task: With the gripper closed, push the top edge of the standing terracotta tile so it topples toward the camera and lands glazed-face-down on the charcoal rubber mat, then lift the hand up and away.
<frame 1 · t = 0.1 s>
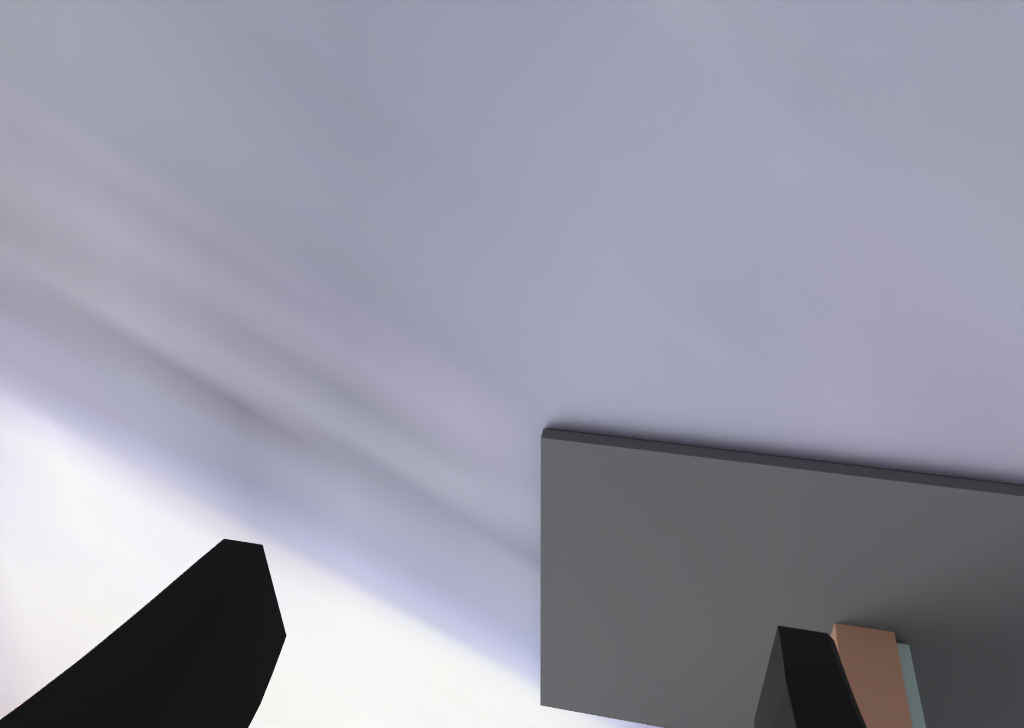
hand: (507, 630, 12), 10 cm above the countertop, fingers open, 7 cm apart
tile: (849, 692, 25), resting on mat
mat: (829, 623, 25), on the countertop
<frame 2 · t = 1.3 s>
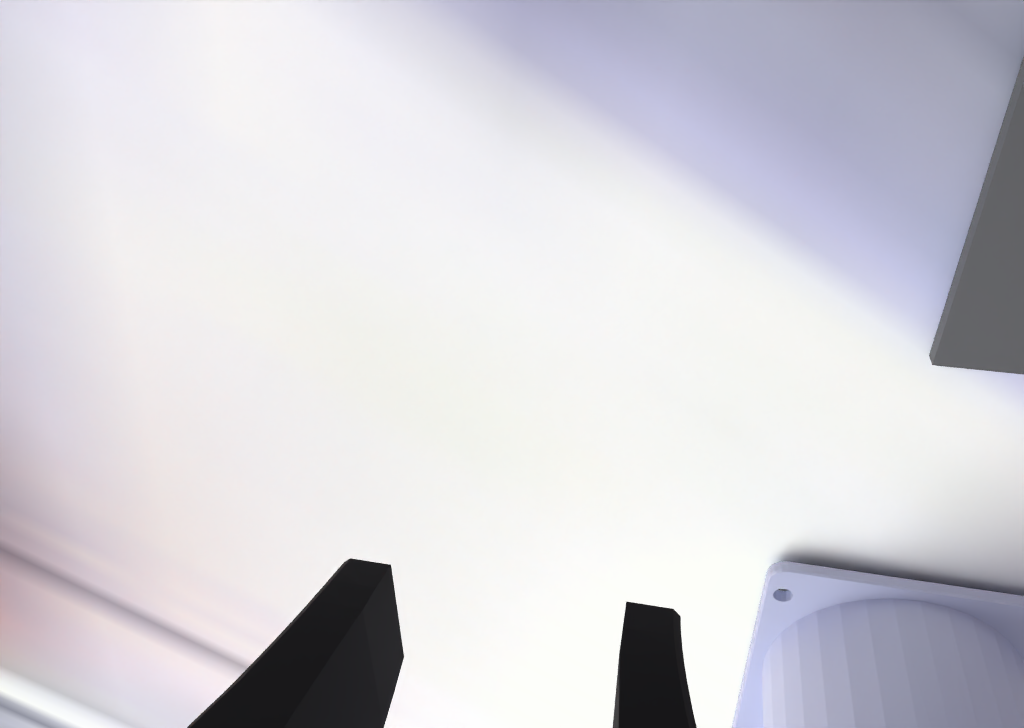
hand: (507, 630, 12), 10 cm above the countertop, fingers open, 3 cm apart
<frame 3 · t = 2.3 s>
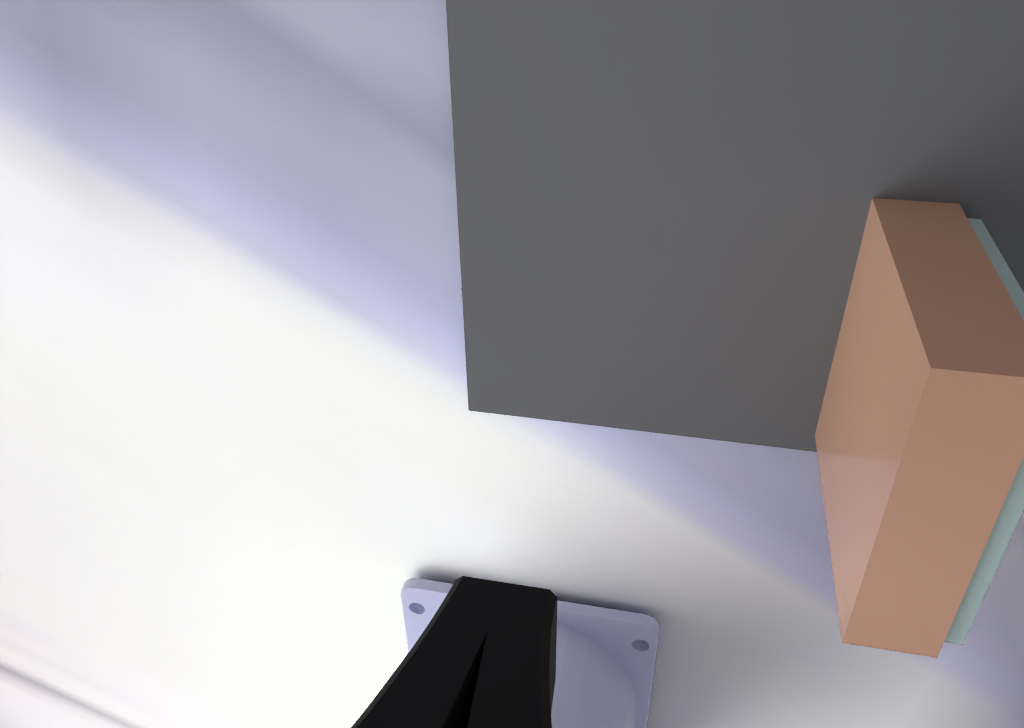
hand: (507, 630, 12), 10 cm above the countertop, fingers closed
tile: (889, 332, 18), resting on mat
mat: (863, 213, 17), on the countertop
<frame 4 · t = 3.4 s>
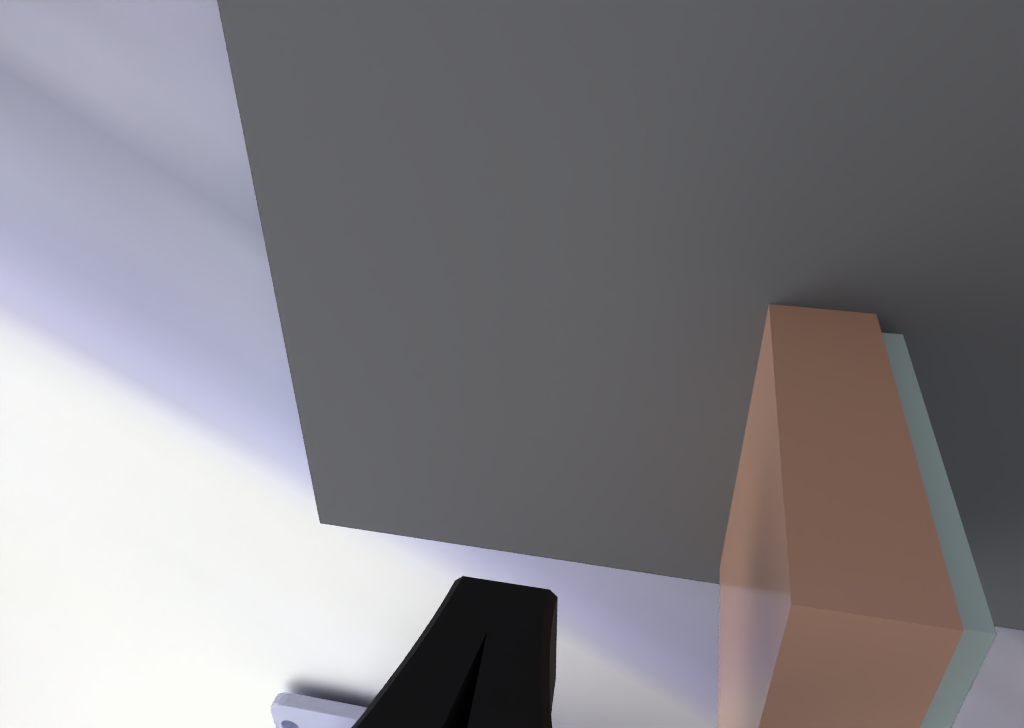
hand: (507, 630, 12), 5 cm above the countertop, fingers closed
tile: (800, 457, 15), resting on mat
mat: (763, 318, 14), on the countertop
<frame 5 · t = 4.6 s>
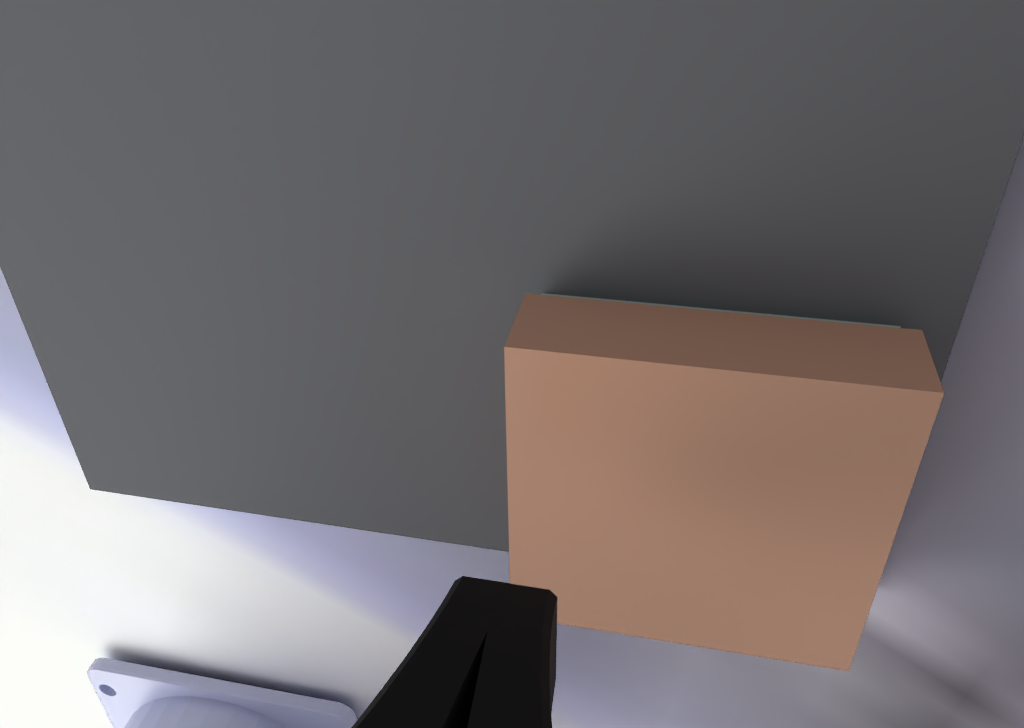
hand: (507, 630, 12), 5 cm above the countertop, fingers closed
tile: (519, 458, 15), point 1 cm above the countertop, tilted 90°, touching mat
mat: (430, 286, 15), on the countertop
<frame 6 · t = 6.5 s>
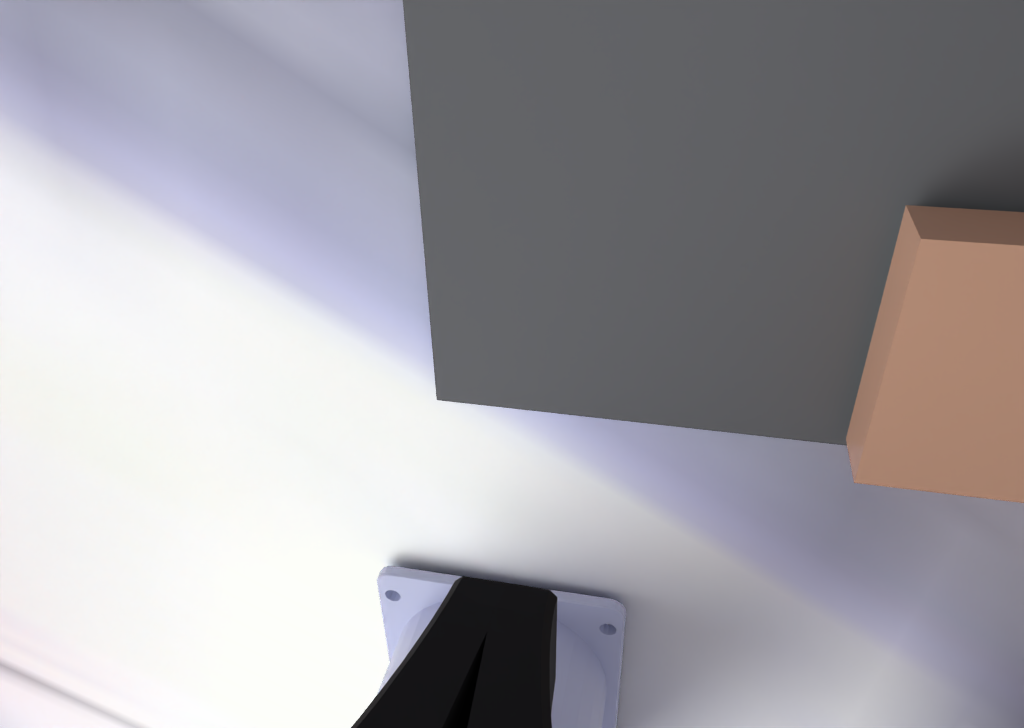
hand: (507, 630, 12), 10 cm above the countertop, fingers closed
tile: (877, 346, 18), point 1 cm above the countertop, tilted 90°, touching mat
mat: (801, 206, 18), on the countertop
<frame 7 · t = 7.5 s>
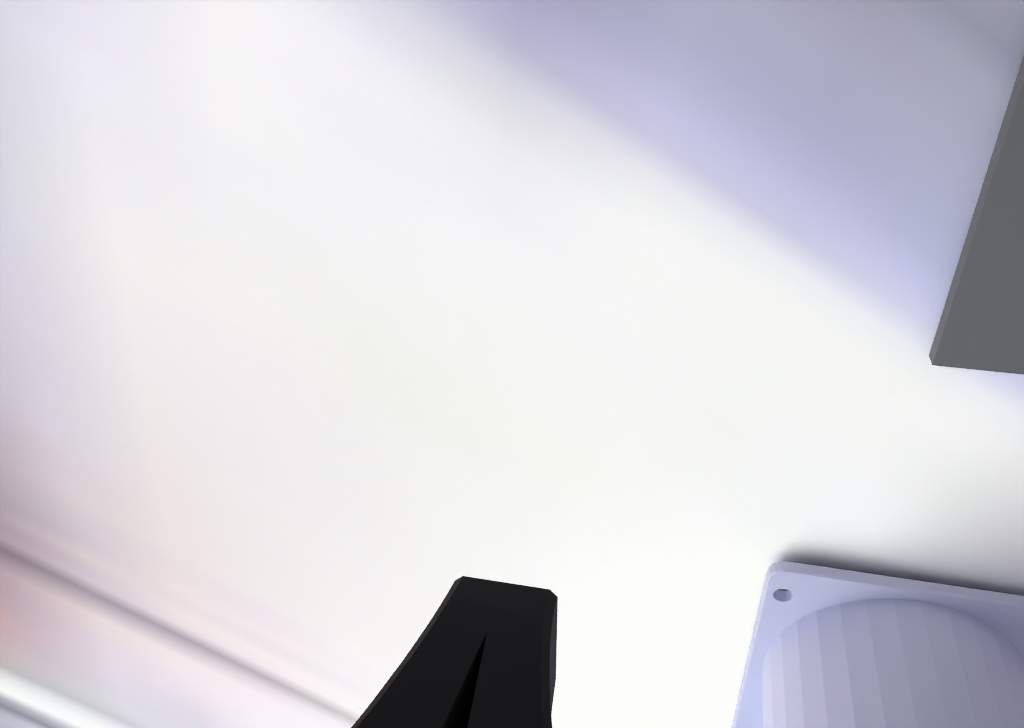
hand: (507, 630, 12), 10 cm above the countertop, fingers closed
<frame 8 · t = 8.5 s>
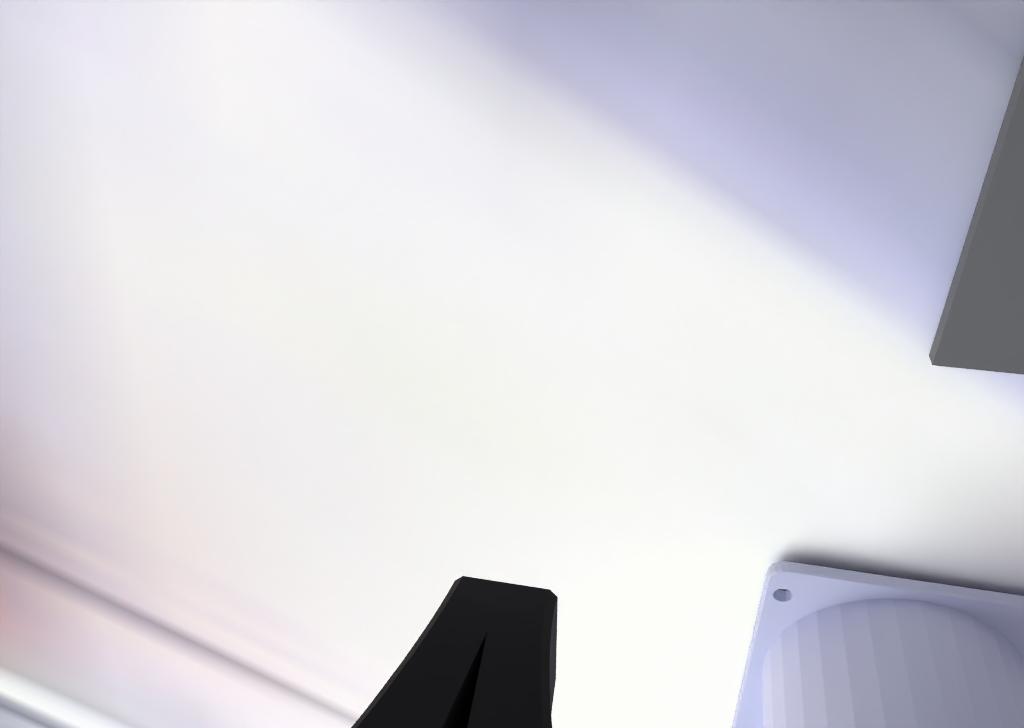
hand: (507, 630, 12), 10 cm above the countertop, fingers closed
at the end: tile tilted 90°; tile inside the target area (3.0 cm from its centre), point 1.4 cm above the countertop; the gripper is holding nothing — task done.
